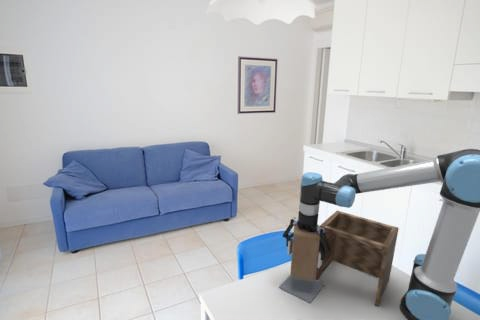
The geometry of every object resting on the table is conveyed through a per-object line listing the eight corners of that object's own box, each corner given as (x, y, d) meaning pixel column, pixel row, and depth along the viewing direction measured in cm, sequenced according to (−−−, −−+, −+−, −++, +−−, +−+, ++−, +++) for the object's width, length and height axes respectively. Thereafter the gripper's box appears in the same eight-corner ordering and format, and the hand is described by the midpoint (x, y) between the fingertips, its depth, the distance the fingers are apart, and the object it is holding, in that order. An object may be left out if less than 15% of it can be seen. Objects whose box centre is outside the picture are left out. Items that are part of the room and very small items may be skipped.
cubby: (389, 280, 127) (398, 227, 120) (377, 307, 111) (388, 248, 105) (331, 258, 142) (336, 210, 136) (314, 278, 127) (319, 225, 120)
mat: (324, 284, 123) (324, 283, 123) (310, 303, 112) (310, 302, 112) (294, 271, 131) (294, 270, 131) (278, 287, 120) (278, 286, 120)
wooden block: (315, 282, 114) (320, 236, 109) (290, 278, 116) (293, 232, 111) (314, 267, 124) (319, 224, 119) (291, 263, 126) (294, 221, 121)
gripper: (343, 217, 109) (337, 267, 114) (285, 200, 123) (282, 245, 129) (336, 225, 103) (329, 276, 108) (276, 206, 117) (273, 252, 123)
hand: (304, 259), depth 119 cm, fingers open, 13 cm apart
